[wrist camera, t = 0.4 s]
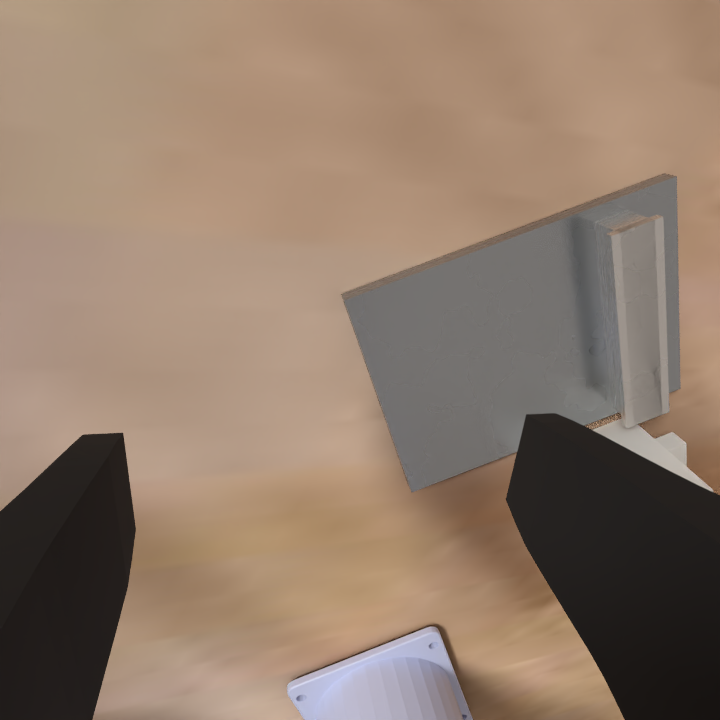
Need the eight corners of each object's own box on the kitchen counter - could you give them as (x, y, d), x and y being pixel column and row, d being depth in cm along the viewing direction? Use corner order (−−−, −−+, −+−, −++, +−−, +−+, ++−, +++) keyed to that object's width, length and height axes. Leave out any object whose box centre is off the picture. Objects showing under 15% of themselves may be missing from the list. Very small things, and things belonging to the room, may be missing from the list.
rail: (644, 392, 23) (669, 411, 22) (604, 408, 23) (626, 428, 22) (633, 206, 19) (663, 216, 18) (585, 224, 19) (611, 236, 18)
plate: (670, 381, 24) (680, 388, 23) (407, 483, 23) (411, 492, 23) (664, 173, 19) (676, 176, 19) (341, 294, 19) (344, 300, 19)
